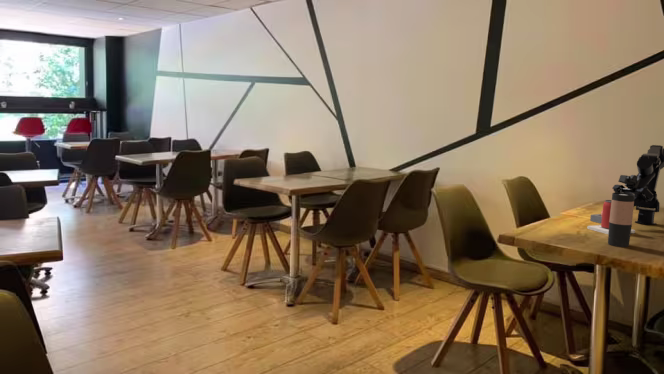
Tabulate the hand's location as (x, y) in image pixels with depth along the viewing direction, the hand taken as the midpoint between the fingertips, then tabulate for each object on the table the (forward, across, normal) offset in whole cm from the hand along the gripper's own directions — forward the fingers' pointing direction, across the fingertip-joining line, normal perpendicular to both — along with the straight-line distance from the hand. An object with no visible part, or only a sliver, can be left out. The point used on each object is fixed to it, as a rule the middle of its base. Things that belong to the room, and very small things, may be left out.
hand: (620, 206), depth 224 cm
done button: (+3, -14, +8) cm, 16 cm away
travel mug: (+22, +26, -9) cm, 35 cm away
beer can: (+12, +3, 0) cm, 12 cm away
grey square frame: (+5, -14, +9) cm, 17 cm away
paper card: (+12, +3, +1) cm, 12 cm away
